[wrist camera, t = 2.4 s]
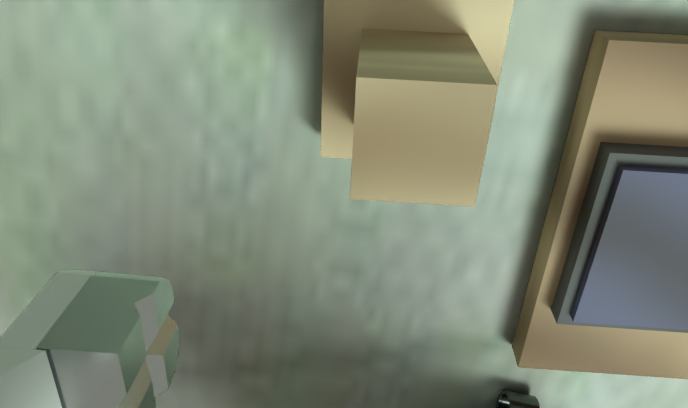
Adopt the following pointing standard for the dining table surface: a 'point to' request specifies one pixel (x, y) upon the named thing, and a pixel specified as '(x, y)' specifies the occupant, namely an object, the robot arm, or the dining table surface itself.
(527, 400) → the coffee press
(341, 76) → the stamp
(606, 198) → the station board
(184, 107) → the dining table surface
